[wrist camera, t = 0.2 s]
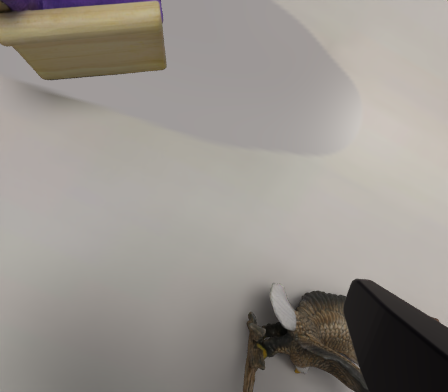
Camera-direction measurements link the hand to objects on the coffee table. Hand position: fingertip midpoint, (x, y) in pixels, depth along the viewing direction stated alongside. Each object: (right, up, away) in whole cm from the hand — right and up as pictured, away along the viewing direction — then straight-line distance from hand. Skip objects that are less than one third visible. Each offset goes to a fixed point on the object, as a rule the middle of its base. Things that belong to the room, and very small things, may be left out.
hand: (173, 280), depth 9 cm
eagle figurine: (+7, -8, +16) cm, 19 cm away
